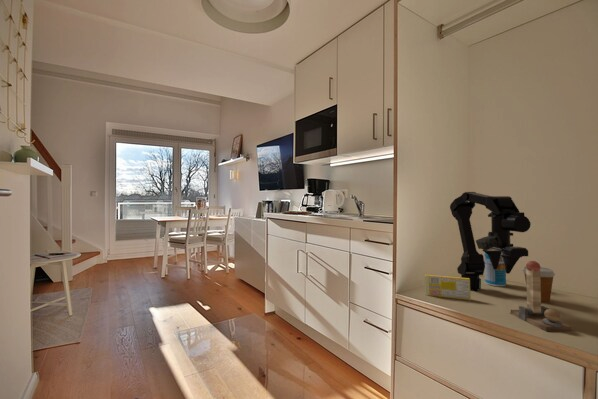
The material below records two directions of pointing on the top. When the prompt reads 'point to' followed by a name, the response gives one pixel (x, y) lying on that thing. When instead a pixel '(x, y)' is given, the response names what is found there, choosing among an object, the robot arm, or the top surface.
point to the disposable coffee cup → (544, 283)
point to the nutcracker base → (542, 319)
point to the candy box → (447, 287)
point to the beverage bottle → (495, 272)
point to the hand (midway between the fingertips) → (501, 271)
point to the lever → (533, 288)
